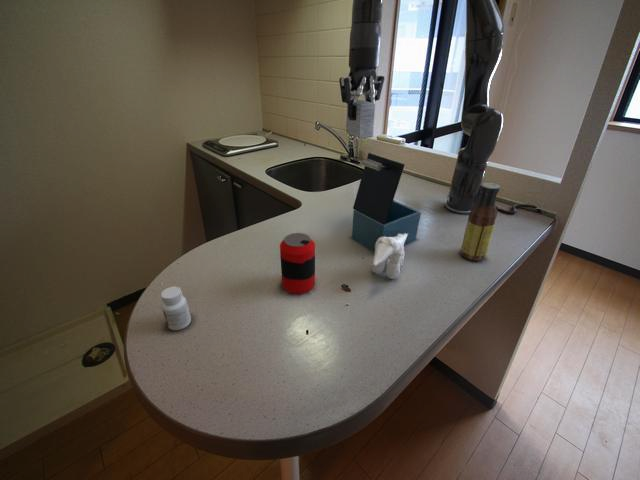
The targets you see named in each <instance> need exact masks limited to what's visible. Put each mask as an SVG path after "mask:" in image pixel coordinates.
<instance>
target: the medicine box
mask: <svg viewBox="0 0 640 480" xmlns="http://www.w3.org/2000/svg"><path fill="white" fill-rule="evenodd" d="M356 106H357V110H356V120H349V118H348V104H347V103H346V121H345V123H346V126H345V133H346V134H349V135H350V136H354V137H356V138H358V139H369V138H373V137H374V126H375V114H376V113H375V112H376V104H375V102H374V103H371V102H367V101H365V100H363V99H358V100H357V103H356Z"/></svg>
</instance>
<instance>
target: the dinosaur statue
mask: <svg viewBox="0 0 640 480" xmlns="http://www.w3.org/2000/svg"><path fill="white" fill-rule="evenodd" d="M407 235H408V234H406V233H404V234H398V235H397V236H395V237H380V238H378V240H377V242H376V244H375V252H374V256H373V259H372V260H371V270H372V272H373V273H374V274H376V275H379V274H382V273H383V271H384V270H385V265H386V276H387V277H388V279H391V280H396V279H397V278H398V277H399V276H400V273H401V268H402V267H403V266H404V260H405V255H406V253H405V245H404V242H405V240H406V238H407Z"/></svg>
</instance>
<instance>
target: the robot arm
mask: <svg viewBox="0 0 640 480" xmlns="http://www.w3.org/2000/svg"><path fill="white" fill-rule="evenodd" d="M383 2H384V0H352V8H351V24H350V25H351V27H350V33H349V49H348V68H349V73H348V75H346V76H344V77H343V76H342V77H340V78H339V80H338V81H339V89H340V96H341V97H340V98H341V103H345V104H346V105H347V104H348V118H349V120H356V110H357V106H356V103H357V100H359V97H361V94H363V96H364V101H367V102H371V103H375V102H376V101H380V99H381V96H382V90H383V86H384V82H385V76H384V75H378V74H377V68H379V65H380V54H381V53H380V52H381V43H382V42H381V41H382V17H383ZM465 3H466V5H465V44H464V47H465V48H464V64H465V65H464V93H463V101H462V110H461V116H460V117H461V119H460V125H461V129H462V131H463V133H464V134H465V135H468V136H469V137H468V141H467V144H466V145H465V147H462V148H460V149H459V151H458V153H457V157H456V161H455V166H454V170H453V174H452V178H451V182H450V186H449V191H448V193H447V194H446V203H445V208H446V209H447V210H448V211H450V212H452V213H457V214H463V215H465V214H466V215H469V214H470V211H471V208H472V207H473V206H474V205H475V204H476V203H477V201H478V198H479V195H480V188H481V184H483V180H484V176H485V173H486V169H487V166H488V162H489V159H490V157H491V156H492V155H493V153H494V151H495V150H496V147H497V144H498V141H499V137H500V134H501V132H502V128H503V123H504V117H503V114H502V112H501V111H500V110H499V109H497V108H493V107H491V106H489V94H490V93H489V91H490V85H491V81H492V79H493V77H494V74H495V72H496V70H497V67H498V65H499V63H500V61H501V57H502V54H503V46H504V32H505V24H504V20H503V16H502V13H501V11H500V8H499V6H498V3H497V1H496V0H466V2H465ZM536 206H537V205H535V204H529V203H522V204H520V203H519V204H513V205H512V206H511V210H507V209H503V208H501V207H500V206H497V205H496V209H497V211H499V212H501V213H504V214H507V215H508V214H509V215H514V214H516V213H517V209H516V208H531V209H534V210H536V211H538V213H541V214H543V213H544V210H543V209H542V208H540V209H535V208H537V207H538V206H537V207H536Z"/></svg>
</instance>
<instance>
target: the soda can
mask: <svg viewBox="0 0 640 480" xmlns="http://www.w3.org/2000/svg"><path fill="white" fill-rule="evenodd" d="M279 253H280V255H279V257H280V271H281V285H282V288H283V289H284V290H285V291H287V293H290V294H294V295H303V294H306V293H308V292H310V291H311V290H313V288H314V287H315V285H316V243H315V241H314V240H313V239H312V238H311V237H310V235H308V234H306V233H304V232H303V233H302V232H294V233H290V234H288V235H286V236H285V237H284V238H283V240H282V241H281V242H280V243H279Z"/></svg>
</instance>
